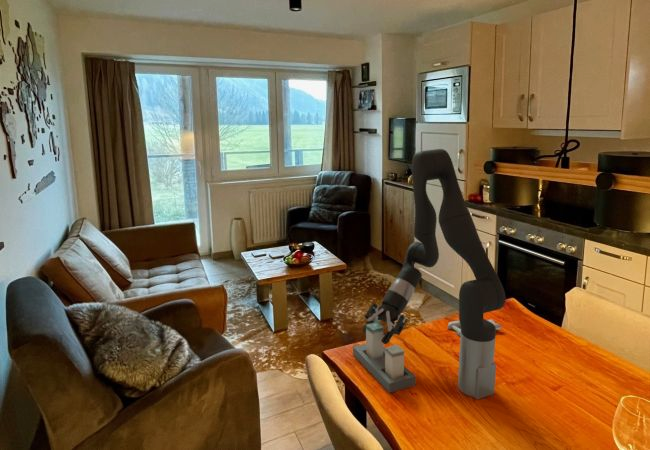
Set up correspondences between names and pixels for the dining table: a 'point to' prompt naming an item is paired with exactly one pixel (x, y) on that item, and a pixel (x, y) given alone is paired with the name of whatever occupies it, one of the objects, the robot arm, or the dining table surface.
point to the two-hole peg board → (387, 367)
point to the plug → (374, 340)
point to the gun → (456, 325)
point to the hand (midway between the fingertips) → (373, 338)
